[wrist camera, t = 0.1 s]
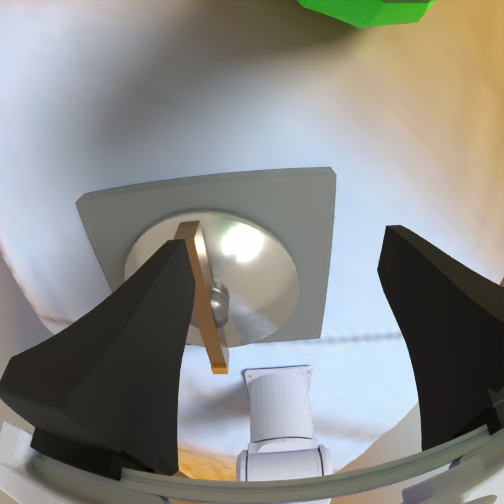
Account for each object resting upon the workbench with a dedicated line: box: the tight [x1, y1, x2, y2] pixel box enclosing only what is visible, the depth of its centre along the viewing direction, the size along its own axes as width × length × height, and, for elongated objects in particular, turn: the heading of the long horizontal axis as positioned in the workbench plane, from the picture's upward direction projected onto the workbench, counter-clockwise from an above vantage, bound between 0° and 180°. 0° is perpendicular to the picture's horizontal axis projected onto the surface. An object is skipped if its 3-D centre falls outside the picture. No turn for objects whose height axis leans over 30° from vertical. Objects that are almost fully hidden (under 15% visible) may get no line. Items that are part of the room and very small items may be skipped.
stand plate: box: [76, 167, 336, 345], centre depth 23 cm, size 16×18×2 cm
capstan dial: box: [124, 208, 299, 374], centre depth 20 cm, size 13×13×4 cm
